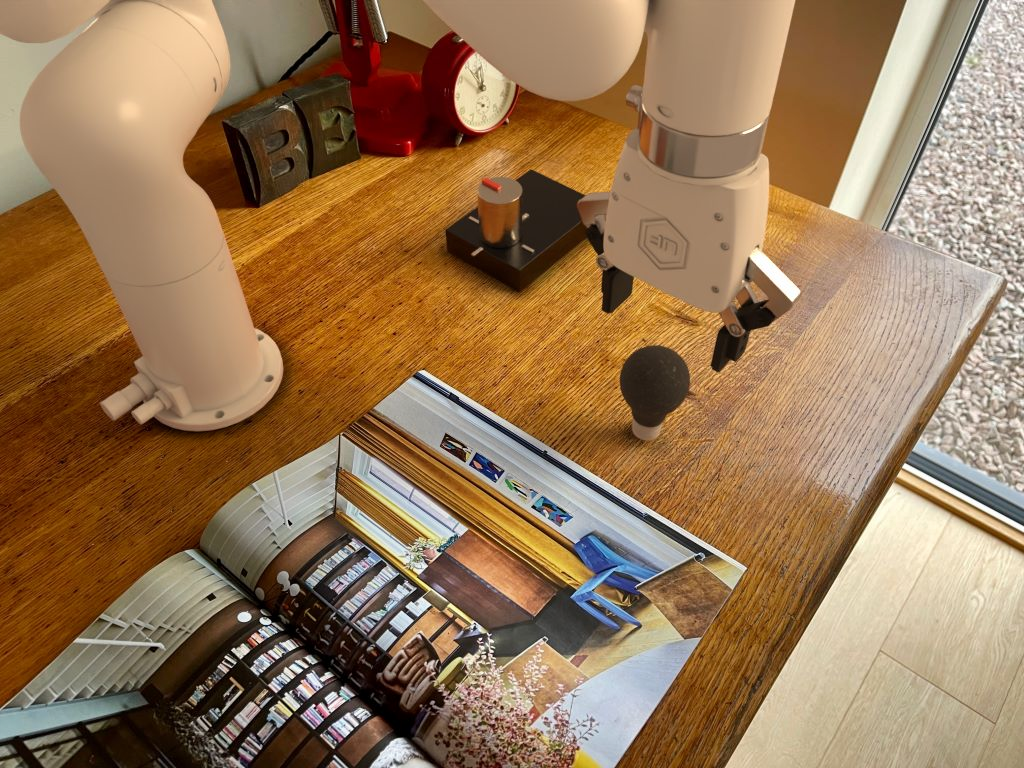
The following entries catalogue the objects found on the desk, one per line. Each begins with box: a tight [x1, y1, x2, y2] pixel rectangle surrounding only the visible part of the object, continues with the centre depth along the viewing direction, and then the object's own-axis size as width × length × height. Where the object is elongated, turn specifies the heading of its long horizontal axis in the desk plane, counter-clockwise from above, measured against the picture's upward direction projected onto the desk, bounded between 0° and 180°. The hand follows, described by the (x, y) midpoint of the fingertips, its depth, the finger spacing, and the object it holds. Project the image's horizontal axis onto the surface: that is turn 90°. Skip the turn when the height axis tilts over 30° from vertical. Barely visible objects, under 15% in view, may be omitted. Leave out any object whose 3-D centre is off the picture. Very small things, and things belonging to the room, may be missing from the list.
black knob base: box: [445, 168, 587, 293], centre depth 91 cm, size 15×10×3 cm, turn 140°
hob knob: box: [476, 176, 522, 248], centre depth 86 cm, size 4×4×6 cm
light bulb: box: [619, 344, 691, 441], centre depth 71 cm, size 6×6×10 cm
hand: (669, 330), depth 65 cm, fingers open, 9 cm apart
